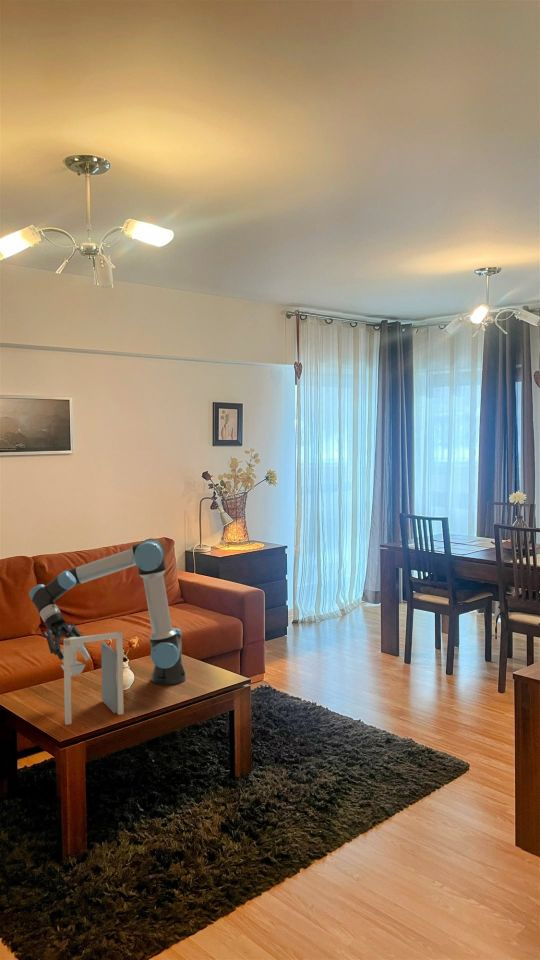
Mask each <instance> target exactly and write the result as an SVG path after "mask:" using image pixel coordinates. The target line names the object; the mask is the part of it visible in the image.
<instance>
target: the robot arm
mask: <svg viewBox="0 0 540 960" xmlns="http://www.w3.org/2000/svg"><path fill="white" fill-rule="evenodd" d="M165 554H166V548H165V546H164V544H163V542H161V541H160V540H159V539H157V538H147V539H144V540H142V541H141V542H138V543H137V544H133V545H131V547H130V548H129V549H126V550H124V551H121V552H117V553H114V554H112V555H108V556H105V557H103V558H99V559H97V560H93V561H91V562H88V563H85V564H82V565H79V566H76V567H74V568H70V569H66V570H63V571H62V572H61V573H59V574H58V575H57V576H56V577H55V578H53V579H52V580H51V581H49V582H48V583H46V585H45V584H43V583H41V584H36V586H33V587H32V588H31V589H30V590H29V593H28V596H29V598H30V600H31V603H32V604H33V605H34V607H35V609H36V611H37V612H38V614H39V616H40V617H41V619H42V621H43V622H44V624H45V626H46V628H47V629H46V630H45V632H44V633H43V635H44V636H45V638H46V641H47V645H48V648H49V653H50V654H53V655H55V656H57V657H58V659H59V660H60V661H61V662H62V663H63V664H64V651H63V650H62V649H61V638H62V637H63V638H65V639H67V638H70V637H80V636H84V634H82V633H81V632H80V631H79V630H78V628H77V627H76V625H75V623H74V622H73V623H71V624H70V625H69V624H67V623H66V620H65V617H64V616H63V614H62V613H61V610H60V608H59V607H58V605H57V603H55V601H57V600H58V599H59V598H60V597H62V596H63V595H65V593H67V592H68V591H70V590H71V589H72V588H73V587H76V586H79V585H81V584H84V583H87V582H90V581H93V580H97V579H99V578H101V577H105V576H108V575H111V574H115V573H117V572H120V571H122V570H126V569H128V568H132V567H134V566H137V567H136V568H137V572H138V576H140V577H141V578H142V579H143V585H144V592H145V598H146V604H147V609H148V614H149V616H148V617H149V621H150V628H151V634H150V636H149V643H150V650H151V651H150V658H151V661H152V664H154V668H153V671H152V673H151V682H152V683H154V684H156V685H160V686H161V685H163V686H164V685H165V686H167V685H168V686H170V685H176V684H180V683H183V682H185V680H186V679H187V678H186V677H187V674H186V671H185V668H184V665H183V662H182V661H183V660H182V657H183V656H182V636H183V635H182V630H181V629H180V628H177V627H173V626H172V619H171V613H170V607H169V601H168V595H167V589H166V583H165V578H164V577H165V576H164V574H165V573H166V570H167V568H166V562H165ZM85 644H86V643H84V647H83V649H82V650H80V651H79V652H80V653H81V655H82V657H83V658H84V660H85V661H86V662H87V661H88V660H89V659H90V657H91V655H90V654H89V652H88V648H87V646H86V645H85Z"/></svg>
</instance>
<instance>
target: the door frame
mask: <svg viewBox="0 0 540 960" xmlns="http://www.w3.org/2000/svg"><path fill="white" fill-rule="evenodd" d="M123 639H124V638H123V632H122V631H113V632H106V633H99V634H91V635H83V636H82V637H75V638H63V648H64V663H63V664H64V670H63V682H64V685H63V687H64V690H63V691H64V695H63V697H64V724H65V725H66V726H67V725H72V722H73V721H72V676H71V659H70V645H72V644H80V643H85V644H86V643H93V642H103V641H108V640H115V651H116V693H117V713H116V714H117V715H118V716H119V715H124V713H125V712H124V655H123V654H124V653H123V651H124V649H123V647H124V646H123V642H124V641H123Z"/></svg>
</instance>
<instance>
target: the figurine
mask: <svg viewBox="0 0 540 960" xmlns="http://www.w3.org/2000/svg"><path fill="white" fill-rule="evenodd" d="M80 637H82V636H80ZM70 638H75V637H70ZM83 647H84V643H80V644H72V645H70V659H71V677H73V676H77V675H80V674H82V673H83V671H84V669H85V667H86V664H85V663H83V662H80V661H77V660H78V659H77V658H78V656H77V652H80V650H82V649H83ZM61 650H63V651H64V647H63V648H62V649H61ZM60 667H61V668H62V670H63V671H64V663H63V664H60Z"/></svg>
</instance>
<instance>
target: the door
mask: <svg viewBox="0 0 540 960" xmlns="http://www.w3.org/2000/svg"><path fill="white" fill-rule="evenodd" d="M100 643H101V644H100V645H101V646H100V647H101V651H100V652H101V657H100V658H101V700H102V702H103V703H104V705H106V707H107V708H108V709H109V710H110V711H111V712H112V713H113V714H117V675H116V649H114V648H112V647H111V646H110V645H109V644H107V642H105V641H100Z"/></svg>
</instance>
